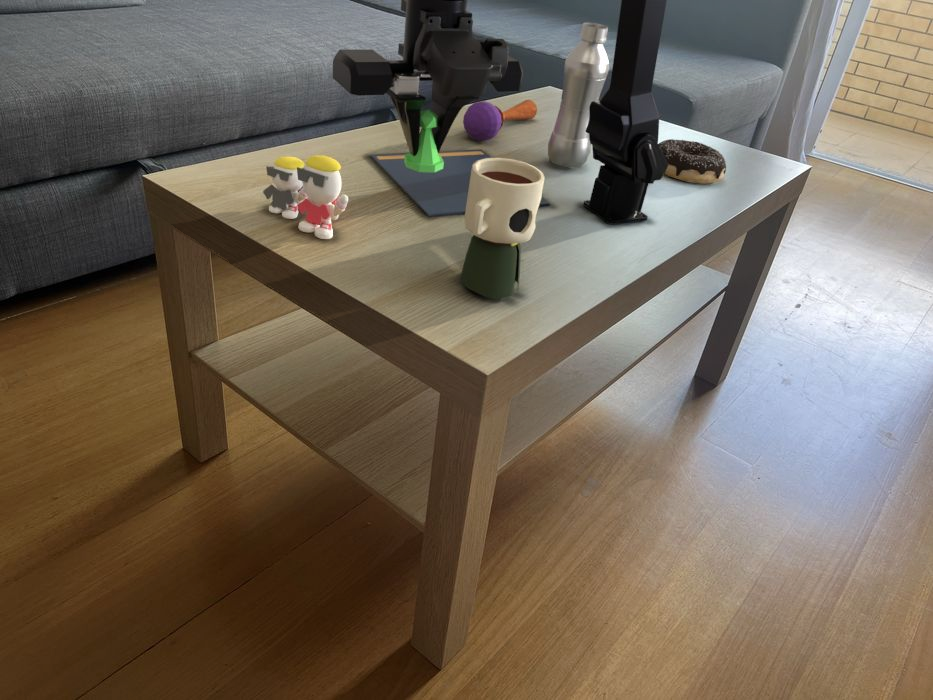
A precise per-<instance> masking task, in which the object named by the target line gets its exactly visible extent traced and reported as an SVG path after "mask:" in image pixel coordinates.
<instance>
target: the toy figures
mask: <svg viewBox="0 0 933 700" xmlns="http://www.w3.org/2000/svg"><path fill="white" fill-rule="evenodd" d="M265 169H266V175H267V176H268V177H271V181H272V182H273V184H274V185H273V184H270V185H269V186H267V187H266V188H265V189H264V190H263V191H262V193H263V195H264V196H265V198H266V200H270V199H272V200H271V203H270V205H269V206H268V211H269V212H270V213H272V214H281V217H282V218H283V219H287V220H292V219H293V220H294V219H296V218H298V215H299V213H300V214H301V215H302V214H304V213H306V216H305V219H304V220H301V221H299V223H298V230H299V231H300V232H303V233H314V236H315V237H316V238H318V239H321V240H330V239H332V238H333V236H334V234H333V233H334V231H333V226H332V225H333V224H332V221H336V220H338V219H339V217H340V214H342V213H344V212H345V211H346V208H347V206H348V205H347V204H348V203H349V197H348V196H347V195H346V194H343V193H342V194H341V195H340V193H341V190H342V186H343V185H342V177H341V173H340V171H341V169H342V165H341V164H340V162H339V161H338V160H336V159H335V158H333V157H330V156H328V155H321V154H316V155H311V156H309V157H308V158H307V159H306V160H305V163H304V161H303V160H301V159H300V158H298V157H294V156H280V157H278V158H276V159H275V160H274V165H273V166H269V165H268V166H267V165H266V168H265ZM339 195H340V196H339Z"/></svg>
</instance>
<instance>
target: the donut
mask: <svg viewBox="0 0 933 700" xmlns="http://www.w3.org/2000/svg"><path fill="white" fill-rule="evenodd" d="M658 145H659V147H660V149H661V151H662V153H663V155H664V157H665V159H666V161H667V163H668V167H667V169H666V171H665V173H664V175H665V176H667V177H670V178H673V179H676V180H680V181H682V182H687V183H691V184H692V183H693V184H703V185H704V184H705V185H706V184H711V183H715V182H718V181H720V180H721V179H723V178H724V175H725V174H726V171H727V163H726V159H725V157H724V156H723V154H722V153H721V152H720V151H719V150H717V149H715V148H713V147H711V146H709V145H707V144H705V143H701V142H699V141H694V140H693V141H692V140H690V141H689V140H685V139H673V138H671V139H665V140H662V141H660V142H658Z"/></svg>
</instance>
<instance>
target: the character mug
mask: <svg viewBox="0 0 933 700" xmlns="http://www.w3.org/2000/svg"><path fill="white" fill-rule="evenodd" d="M545 178H546V177H545V175H544V173H543V171H541V170H540V169H538V168H537V167H536V166H534V165H532V164H529V163H527V162H525V161H521V160H517V159H513V158H506V157H505V158H504V157H491V158H485V159H481V160H477V161H476V162H475V163H474V164H473V165H472V169H471V176H470V183H469V190H468V197H467V205H466V212H465V213H464V225H465V229H466V230H467V231H468V232H469V233H470V234H471V235H472V236H471V238H470V242H469V244H468V248H467V251H466V254H465V258H464V262H463V266H462V269H461V274H460V278H459V281H460V282H461V283H462V285H463V286H464V287H466V288H467V289H470V290H471V291H472V292H474V293H477V294H478V295H480V296H483V297H485V298H486V299H504V298H505V299H506V298H509V297H512V296H513V295H514V289H515V283H516V285H517V286H516V292H518V291H519V290H520V289H519V287H520V279H521V278H520V276H521V257H522V255H521V254H522V244H523V243H526V242H528V241H530V240H531V239H532V237H533V235H534V232H535V230H536V218H537V212H538V210H539V207H540V206H539V204H540V201H541V197H542V196H543V189H544V184H545Z"/></svg>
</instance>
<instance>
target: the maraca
mask: <svg viewBox="0 0 933 700" xmlns="http://www.w3.org/2000/svg"><path fill="white" fill-rule="evenodd" d="M537 114H538V107H537V104H536V103H535V101H534V100H531V99H526V100H523V101H522V102H519V103H518V104H515V105H513V106H512V107H510V108H508V109H506V110H504V111H502V109H500V108H499V107H498V106H496V105H494V104H493V103H492V102H489V101H485V100H483V101H477V102H473V103H472V104H471V105H469V106H468V108H467V109H466V111H465V112H464V115H463V120H462V123H463V129H464V131H465V133H466V134H467V135H468V136H469V137H471V138H472V139H473V140H474V141H478V142H485V141H486V142H487V141H490V140H491V139H493V138H495V137H496V136H497V135H498V133H499V132H500V130H501V129H502V127H503V125H504V122H505V121H520V120H521V121H525V120H526V121H527V120H532V119H534V118H535V117H536V116H537Z"/></svg>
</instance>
